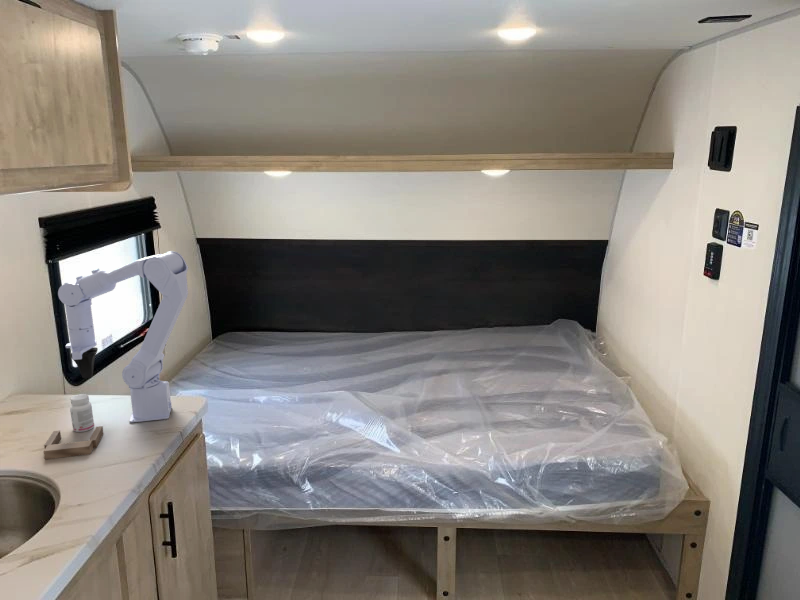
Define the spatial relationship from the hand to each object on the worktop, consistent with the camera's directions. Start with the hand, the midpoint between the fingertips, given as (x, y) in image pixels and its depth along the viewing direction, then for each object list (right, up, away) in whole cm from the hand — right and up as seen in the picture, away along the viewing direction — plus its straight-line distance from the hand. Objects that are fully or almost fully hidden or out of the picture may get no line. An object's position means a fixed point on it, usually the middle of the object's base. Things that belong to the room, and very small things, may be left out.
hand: (87, 377), depth 159 cm
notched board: (+5, -14, -15) cm, 21 cm away
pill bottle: (+2, -12, -6) cm, 14 cm away
